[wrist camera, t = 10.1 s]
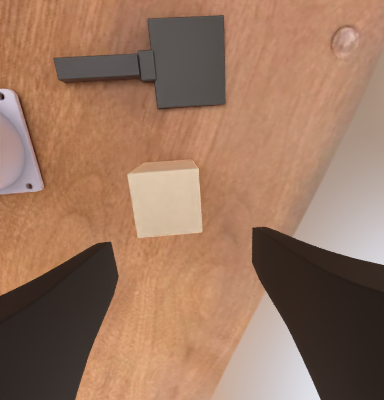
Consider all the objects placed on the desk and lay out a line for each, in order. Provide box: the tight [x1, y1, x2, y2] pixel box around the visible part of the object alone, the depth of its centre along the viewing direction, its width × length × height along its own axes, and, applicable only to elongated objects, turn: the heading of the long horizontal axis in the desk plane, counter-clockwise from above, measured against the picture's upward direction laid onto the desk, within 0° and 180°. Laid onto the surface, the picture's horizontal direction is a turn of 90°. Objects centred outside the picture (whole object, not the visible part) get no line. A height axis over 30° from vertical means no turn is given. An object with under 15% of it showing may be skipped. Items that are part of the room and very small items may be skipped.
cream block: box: [127, 159, 202, 238], centre depth 16 cm, size 4×4×6 cm
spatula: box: [54, 15, 225, 109], centre depth 15 cm, size 13×6×1 cm, turn 93°
